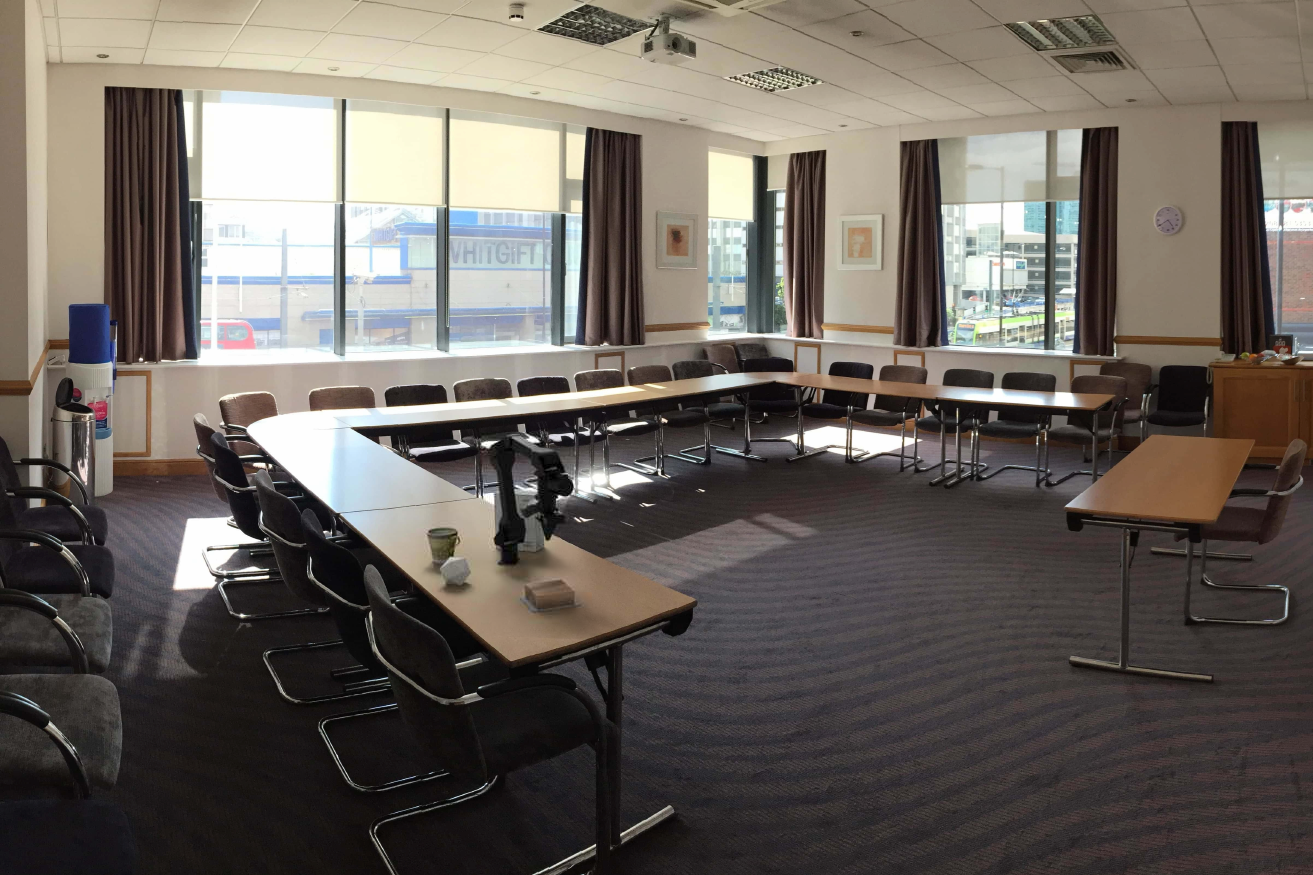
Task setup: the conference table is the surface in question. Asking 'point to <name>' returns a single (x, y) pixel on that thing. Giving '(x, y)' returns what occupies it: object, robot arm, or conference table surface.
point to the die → (455, 571)
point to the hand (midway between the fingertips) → (547, 540)
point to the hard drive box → (533, 526)
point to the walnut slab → (549, 594)
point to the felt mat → (547, 608)
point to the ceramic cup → (442, 543)
